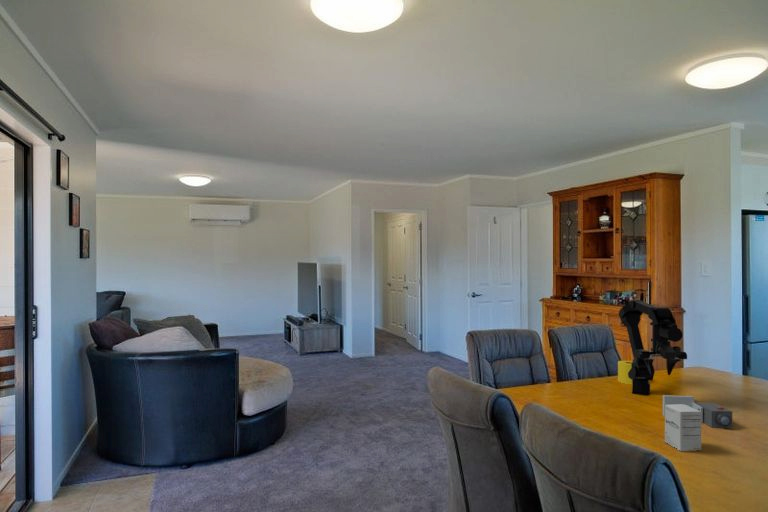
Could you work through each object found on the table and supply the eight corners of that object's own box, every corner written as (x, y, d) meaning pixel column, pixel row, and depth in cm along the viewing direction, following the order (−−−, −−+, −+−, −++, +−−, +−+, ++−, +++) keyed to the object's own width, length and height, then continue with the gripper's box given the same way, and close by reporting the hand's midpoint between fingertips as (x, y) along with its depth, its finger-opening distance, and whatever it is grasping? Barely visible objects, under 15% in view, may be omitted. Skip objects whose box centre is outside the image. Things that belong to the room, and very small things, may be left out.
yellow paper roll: (613, 380, 230) (613, 361, 230) (628, 378, 233) (628, 359, 233) (630, 385, 220) (630, 365, 220) (645, 383, 224) (645, 364, 224)
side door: (662, 415, 178) (662, 395, 178) (692, 416, 177) (692, 396, 177) (671, 421, 171) (671, 400, 171) (702, 422, 170) (702, 401, 170)
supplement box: (663, 442, 152) (663, 404, 153) (685, 441, 153) (685, 403, 153) (680, 452, 145) (680, 411, 145) (702, 451, 146) (702, 411, 146)
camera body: (695, 417, 176) (695, 400, 176) (714, 418, 175) (714, 401, 175) (714, 429, 164) (714, 410, 164) (735, 430, 163) (735, 411, 163)
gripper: (646, 340, 186) (646, 379, 186) (695, 341, 184) (695, 380, 184) (633, 335, 197) (633, 372, 197) (679, 336, 195) (679, 373, 195)
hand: (660, 374), depth 193 cm, fingers open, 7 cm apart
